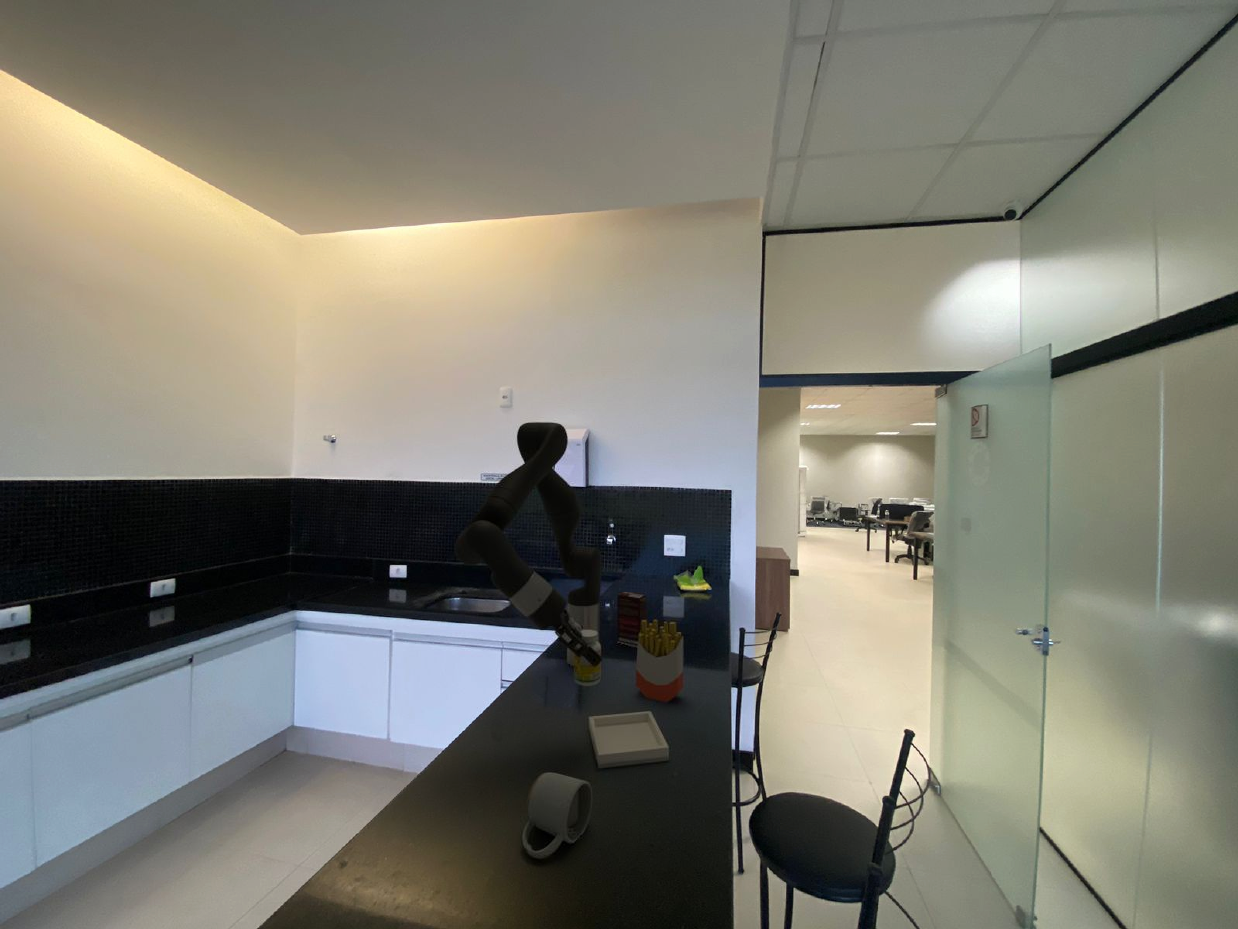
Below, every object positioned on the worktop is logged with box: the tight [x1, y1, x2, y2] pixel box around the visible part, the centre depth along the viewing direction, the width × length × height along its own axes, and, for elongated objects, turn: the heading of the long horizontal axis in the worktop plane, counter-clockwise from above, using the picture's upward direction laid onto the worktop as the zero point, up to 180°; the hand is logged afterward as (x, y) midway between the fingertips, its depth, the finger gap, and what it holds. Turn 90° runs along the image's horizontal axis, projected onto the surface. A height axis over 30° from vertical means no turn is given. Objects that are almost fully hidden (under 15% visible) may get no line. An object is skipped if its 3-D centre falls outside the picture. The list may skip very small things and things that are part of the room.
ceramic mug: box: [521, 772, 593, 856], centre depth 70 cm, size 11×8×8 cm
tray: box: [588, 710, 670, 769], centre depth 94 cm, size 14×14×2 cm
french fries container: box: [635, 619, 684, 703], centre depth 114 cm, size 5×11×18 cm, turn 66°
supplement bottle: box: [573, 630, 602, 687], centre depth 94 cm, size 5×5×10 cm
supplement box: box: [616, 591, 648, 649], centre depth 148 cm, size 9×5×16 cm, turn 58°
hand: (596, 656), depth 94 cm, fingers closed on supplement bottle, 5 cm apart
